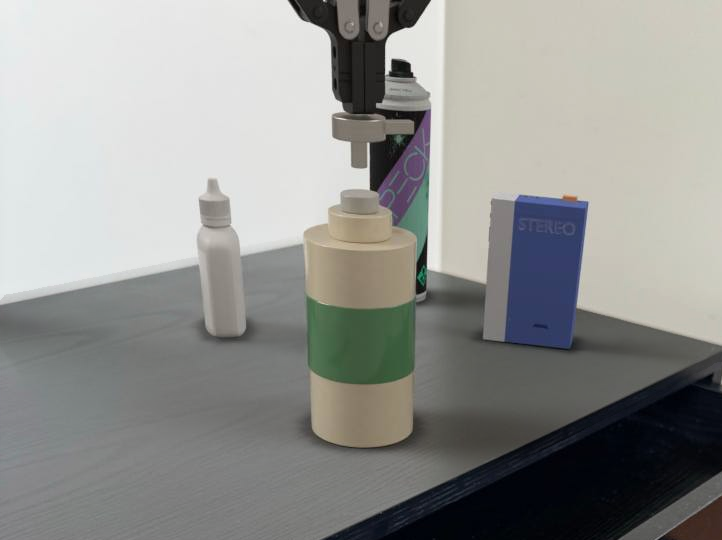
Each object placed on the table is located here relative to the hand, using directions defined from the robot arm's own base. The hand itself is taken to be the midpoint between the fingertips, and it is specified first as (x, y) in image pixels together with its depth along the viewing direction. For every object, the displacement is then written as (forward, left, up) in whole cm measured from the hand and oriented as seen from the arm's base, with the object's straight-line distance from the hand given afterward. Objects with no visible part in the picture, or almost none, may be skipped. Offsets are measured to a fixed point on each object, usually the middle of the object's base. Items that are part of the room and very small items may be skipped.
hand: (358, 112), depth 58 cm
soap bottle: (0, 0, -20) cm, 20 cm away
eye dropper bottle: (-5, +23, -20) cm, 31 cm away
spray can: (+13, +29, -20) cm, 38 cm away
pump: (+1, 0, -3) cm, 3 cm away
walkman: (+20, +14, -20) cm, 32 cm away
